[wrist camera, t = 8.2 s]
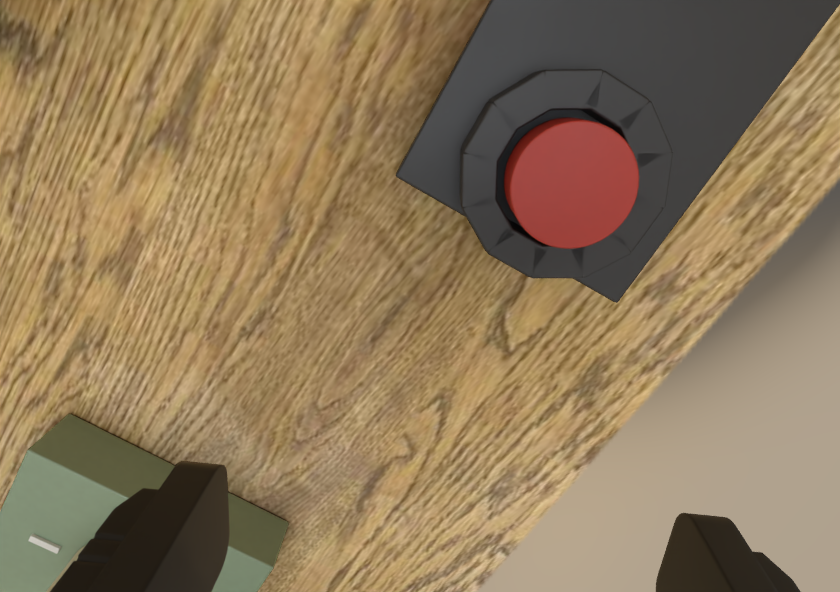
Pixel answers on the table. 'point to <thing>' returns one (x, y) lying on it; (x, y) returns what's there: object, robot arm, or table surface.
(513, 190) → the button
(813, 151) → the table surface
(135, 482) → the dial panel
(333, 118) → the table surface
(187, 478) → the robot arm
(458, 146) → the button box
